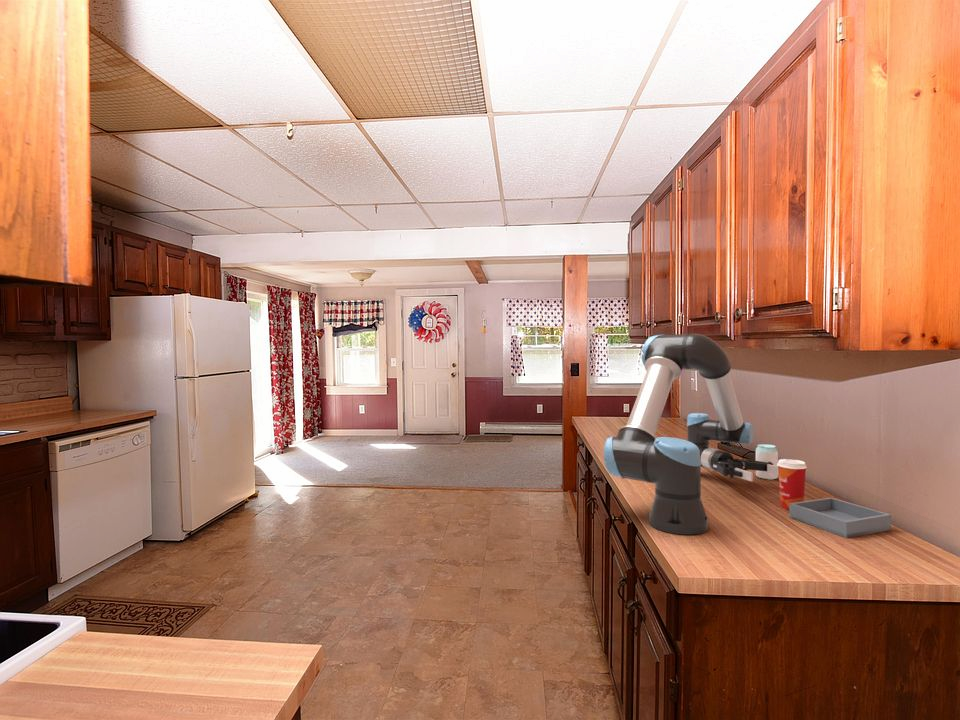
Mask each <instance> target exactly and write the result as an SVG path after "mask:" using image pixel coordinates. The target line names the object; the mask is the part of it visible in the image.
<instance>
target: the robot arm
mask: <svg viewBox="0 0 960 720" xmlns="http://www.w3.org/2000/svg"><path fill="white" fill-rule="evenodd" d="M641 351H642V354H641V362H642V364H643V365H642V366H643V367H644V369H645V371H646V373H645V376H644V378H643V380H642V383H641V385H640V389H639V391H638V394H637V396H636V398H635V402H634V404H633V407H632V409H631V412H630V415H629V418H628V420H627V423H626V425H624V426H622V427H620V428H619V430H618V432H617V434H616V436H615V435H614V436H609V437H607V438H606V440H605V442H604V445H603V453H602V454H603V463H604V466H605V469H606V471H608V473H609V474H610V475H611V476H613V477H618V478H621V479H625V480H626V479H627V480H633V481H638V482H644V483H648V484H649V483H651V484H654V489H655V490H654V491H655V495H654V497H653V498H654V499H653V501H652V504H651V508H650V511H649V514H648V524H649V525H650V526H651V527H652V528H655V529H656V530H659V531H662V532H666V533H669V534H674V535H675V534H676V535H688V536H689V535H699V534H703V533H705V532H707V531H708V529H709V519H708V516H707V514H706V511H705V508H704V504H703V502H702V498H701V496H702V493H701V491H702V490H701V488H702V486H701V484H702V483H701V478H702V477H701V474H702V472H701V471H702V470H701V469H702V468H705V469H708V470H710V471H711V472H713V471H715V472H717V473H720V474H721V475H722V476H724V477H728V476H729V479H734V478H735V477H736V478H739V479H741V480H745V481H749V482H754V472H752V471H756V470H758V471H767V473H771V474H775V475H778V477H779V473H778V466H774V465H773V463H771V462H761V461H756V460H753V459H747V458H741V459H739V458H734V456H733V455H732V454H731V453H730V452H727V451H725V450H724V451H723V450H721V449H716V448H712V447H710V441H715V442H723V443H733V444H738V445H740V444H742V445H743V444H744V445H749V444H751V443H752V442H753V441H754V436H755V435H754V434H755V431H754V425H753V424H752V423H750V422H746V421H744V419H743V415H742V412H741V409H740V404H739V401H738V398H737V397H738V396H737V394H736V391H735V387H734V385H733V380H732V378H731V373H730V372H731V370H732V363H731V361H730V358H729V356H728V354H727V353H726V352H725V350H724V349H723V348H722V346H720V344H718V343H717V342H716V341H715V340H713V339H712V338H710V337H708V336H706V335H704V334H701V333H683V334H682V333H680V334H675V333H674V334H658V335H652V336H650V337H648V338H647V339H646V341H645V342H644V343H643V347H642V349H641ZM683 370H695V371H698V373H699V376H700V377H702V378H703V379H705V383H706V386H707V389H708V392H709V395H710V398H711V401H712V404H713V407H714V410H715V412H716V416H717V419H710V415H709V414H707V413H701V412H694V413H693V412H692V413H689V414H688V415H687V420H686V422H687V423H686V436H687V438H686V439H687V440H686V439H682V438H676V437H668V436H658V437H656V436H655V435H656V432H657V429H658V426H659V423H660V420H661V417H662V416H663V415H662V414H663V411H664V408H665V406H666V404H667V399H668V397H669V393H670V391H671V389H672V385H673V382H674V380H675V381H676V380H677V379H679V377H680V376H681V373H682V371H683ZM749 470H751V471H749Z"/></svg>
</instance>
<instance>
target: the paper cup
mask: <svg viewBox="0 0 960 720" xmlns="http://www.w3.org/2000/svg"><path fill="white" fill-rule="evenodd" d="M777 465H778V473H779V476H778V485H779V486H778V487H779V497H780V499H779V500H780V501H779V502H780V507H781V508H782V509H785V510H787V511H789V503H796V502H803V501H805V486H806V469H807V468H808V466H807V464H806V462H805V461H803V460H800V459H799V460H798V459H790V458H789V459H787V458H782V459H778V463H777Z"/></svg>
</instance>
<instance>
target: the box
mask: <svg viewBox="0 0 960 720" xmlns="http://www.w3.org/2000/svg"><path fill="white" fill-rule="evenodd" d="M788 512H789V515H788V516H789V518H790V519H791V520H792V519H793V520H795V521H798V522H801V523H803V524H806V525H810V526H813V527H814V528H818V529H820V530H822V531H825V532H828V533H831V534H834V535H837V536H839V537H842V538H845V539H848V538H853V537H858V536H865V535H870V534H871V535H872V534H875V533H876V534H877V533H882V532H886V531H891V530H892V514H890V513H886V512H884V511H883V512H882V511H880V510H876V509H873V508H869V507H867V506H862V505H858V504H856V503H852V502H848V501H845V500H841V499H838V498H834V497H825V498H819V499H817V498H816V499H812V500H804V501H803V502H796V503H789V510H788Z"/></svg>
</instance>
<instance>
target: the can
mask: <svg viewBox="0 0 960 720" xmlns="http://www.w3.org/2000/svg"><path fill="white" fill-rule="evenodd" d="M755 461H761V462H771V463H773V465H774V466H778V465H777V463H778V461H779V451H778V449H777V447H776V445H774V444H763V443H762V444H761V443H760V444H757V447H756V448H755ZM755 476H756V477H757V478H758V477H759V478H758V479H760V478H762V479H761V480H764V479H768V480H767V481H775V480H776V479H779V476H778V475H775V474H771V473H767V471H758V470H755ZM774 479H775V480H774Z"/></svg>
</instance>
